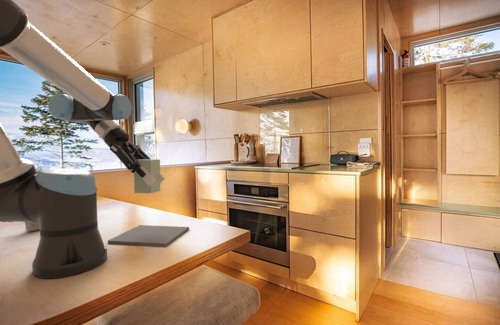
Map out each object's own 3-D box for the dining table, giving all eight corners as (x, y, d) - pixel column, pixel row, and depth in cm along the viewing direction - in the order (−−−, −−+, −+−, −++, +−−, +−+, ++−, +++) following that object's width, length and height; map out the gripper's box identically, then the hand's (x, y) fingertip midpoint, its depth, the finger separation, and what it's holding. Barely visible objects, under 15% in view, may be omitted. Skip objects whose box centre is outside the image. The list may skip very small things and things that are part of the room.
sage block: (151, 193, 86) (150, 159, 85) (134, 192, 87) (134, 159, 86) (160, 190, 92) (159, 159, 91) (144, 190, 93) (144, 159, 92)
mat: (166, 246, 75) (166, 243, 75) (107, 243, 78) (107, 240, 78) (189, 229, 91) (189, 227, 91) (139, 227, 94) (139, 225, 94)
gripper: (123, 143, 100) (163, 186, 98) (85, 140, 82) (133, 193, 79) (136, 129, 99) (176, 172, 97) (100, 123, 81) (149, 176, 79)
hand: (157, 182), depth 88 cm, fingers closed on sage block, 6 cm apart
